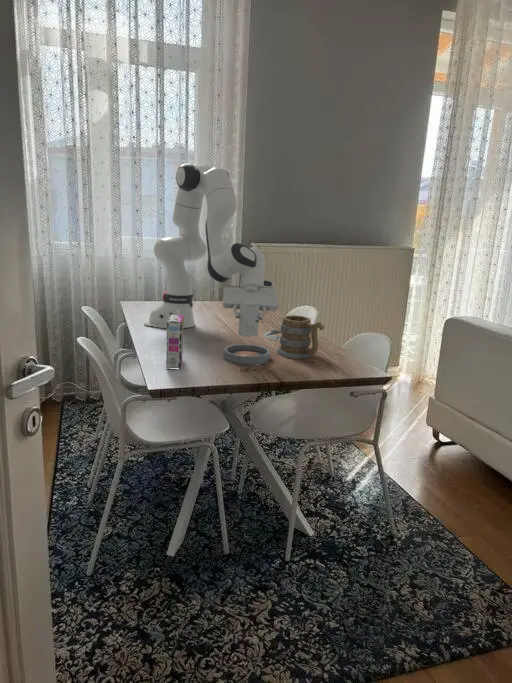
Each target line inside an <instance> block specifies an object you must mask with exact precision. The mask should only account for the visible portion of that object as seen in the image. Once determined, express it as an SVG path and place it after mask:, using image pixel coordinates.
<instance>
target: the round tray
mask: <svg viewBox="0 0 512 683" xmlns="http://www.w3.org/2000/svg"><path fill="white" fill-rule="evenodd" d="M223 360H224V361H226V360H227V362H228V361H229V362H228V363H230V362H232V363H231V364H234V363H236V364H235V365H239V364H242V365H241V366H257V365H256V364H261V365H264V364H263V363H265V364H267V363H266V362H268V361H269V360H270V361H271V350H270V349H269V348H267V347H265V346H261V345H258V344H248V343H238V344H230V345H228V346H227V345H226V346H225V347H224V349H223ZM270 361H269V362H270ZM269 362H268V363H269Z"/></svg>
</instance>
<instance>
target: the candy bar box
mask: <svg viewBox="0 0 512 683" xmlns="http://www.w3.org/2000/svg"><path fill="white" fill-rule="evenodd" d="M183 319H184V316H183V315H170V317H169V319H168V321H167V328H166V358H165V359H166V360H165V363H166V365H165V366H166V367H165V369H166V368H179V369H180V370H181V366H182V361H183V348H184V347H183V343H184V342H183V341H184V328H183Z"/></svg>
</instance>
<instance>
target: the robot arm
mask: <svg viewBox="0 0 512 683" xmlns="http://www.w3.org/2000/svg"><path fill="white" fill-rule="evenodd" d="M175 180H176V183H177V186H178V188H177V189H178V190H177V193H176V197H175V200H174V201H175V202H174V207H173V208H174V209H173V215H172V222H173V223H174V225H175V226H176V227H177V228H178V232H179V233H178V236H166V237H165V236H164V237H162V238H159V239H157V240H156V242H155V243H154V246H153V253H154V256H155V258H156V259H157V260H158V261H159V262H160V263H161V265H162V266H163V268H164V271H165V274H166V284H167V286H166V288H167V289H166V291H165V292H164V293H163V294H162V297H161V298H162V301H161V302H159V304H157V305H156V306H154V307H153V308H152V309H151V310H150V313H149V318H146V319H145V320H144V321H143V325H144V324H145V325H146V326H145V325H144V326H145V327H151V326H153V328H161V329H167V321H168V319H169V317H170V315H183V316H184V319H183V329H187V328H192V327H195V326H196V323H195V322H196V321H195V317H194V310H193V307H194V301H195V300H194V298H195V297H194V293H193V288H194V286H193V284H194V283H193V282H194V281H193V280H194V279H193V275H192V274H191V273H190V272H189V271H187V270H186V266H185V265H186V264H185V263H186V262H187V263H189V262H191V263H192V262H196V261H199V260H201V259H203V258H204V257H205V255H206V254H207V266H206V267H207V272H208V274H209V276H210V277H211V279H213V280H214V281H215V282H219V283H226V282H228V281H229V280H230V279H231V278H232V277H234V276H235V275H237V274H239V275H240V281H239V282H240V284H239V285H230V284H229V285H227V286H224V287H223V291H222V294H223V296H222V307H223V308H224V309H230V310H233V313H234V318H235V319H239V314H240V311H238V310H240V302H246V301H253V302H258V303H260V308H259V311H262V312H261V313H260V312H259V321H263V320H264V316H265V315H266V314H267V312H268V311H269V312H276V311H277V310H278V307H279V297H278V292H277V290H276V283H275V282H274V281H270V280H267V279H265V278H264V276H265V271H266V259H265V255H264V252H263V251H262V250H261V249H260V248H258V247H253V246H252V247H249V246H247V245H245V244H243V243H239V242H235V243H234V244H231V245H230V246H229V247H227V248H225V249H224V246H223V233H224V230H225V228H226V227H227V225H228V223H229V222H230V220H231V219H232V218H233V217H234V215H235V213H236V211H237V204H238V202H237V198H236V194H235V190H234V186H233V184H232V182H231V179H230V176H229V172H228V171H227V170H225V169H223V168H221V167H216V166H213V165H207V164H199V163H198V164H195V163H191V162H189V163H188V162H187V163H183V164H181V165H179V167H178V168H177V170H176V175H175ZM204 196H205V199H206V205H207V206H206V210H207V212H206V219H205V224H204V225H205V227H204V228H205V236H206V237H205V238H206V243H205V241H204V240H203V239H202V237H201V234H200V218H201V213H202V207H203V206H202V205H203V199H204Z"/></svg>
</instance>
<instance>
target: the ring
mask: <svg viewBox="0 0 512 683" xmlns="http://www.w3.org/2000/svg"><path fill="white" fill-rule="evenodd" d="M274 332H278V333H282V331H281V329H280V330H278V329H277V328H273V329H271V330H268V331H266V332H265V333H264V334H263V337H265V338H266V339H268V338H269V339H268V340H271V339H272V340H271V341H274V340H277V341H276V342H280V335H276V334H275V333H274ZM271 333H272V334H271Z"/></svg>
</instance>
